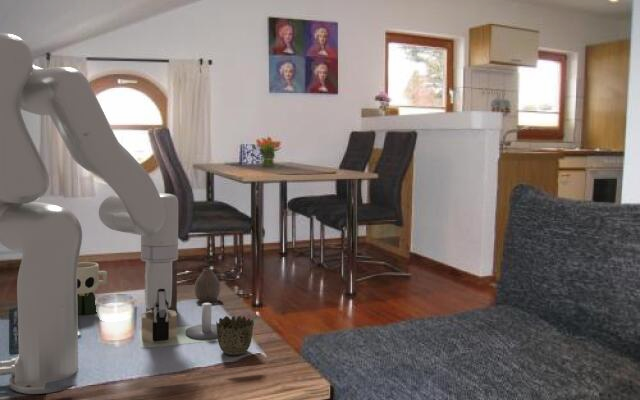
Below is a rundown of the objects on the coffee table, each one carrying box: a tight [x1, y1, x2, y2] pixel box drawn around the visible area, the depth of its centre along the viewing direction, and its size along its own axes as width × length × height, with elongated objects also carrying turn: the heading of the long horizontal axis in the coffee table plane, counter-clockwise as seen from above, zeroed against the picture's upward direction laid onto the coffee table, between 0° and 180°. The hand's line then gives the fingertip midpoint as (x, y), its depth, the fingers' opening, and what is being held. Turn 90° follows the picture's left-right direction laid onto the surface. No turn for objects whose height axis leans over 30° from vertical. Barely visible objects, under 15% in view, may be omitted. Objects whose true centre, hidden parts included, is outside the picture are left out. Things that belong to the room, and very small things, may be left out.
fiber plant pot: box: [215, 315, 255, 357], centre depth 110 cm, size 8×7×8 cm
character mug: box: [77, 261, 108, 317], centre depth 133 cm, size 11×7×13 cm, turn 113°
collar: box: [141, 310, 178, 343], centre depth 118 cm, size 7×7×5 cm
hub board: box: [138, 302, 218, 349], centre depth 120 cm, size 18×11×8 cm, turn 111°
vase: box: [194, 268, 221, 304], centre depth 151 cm, size 7×7×9 cm
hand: (159, 333), depth 118 cm, fingers closed on collar, 7 cm apart
